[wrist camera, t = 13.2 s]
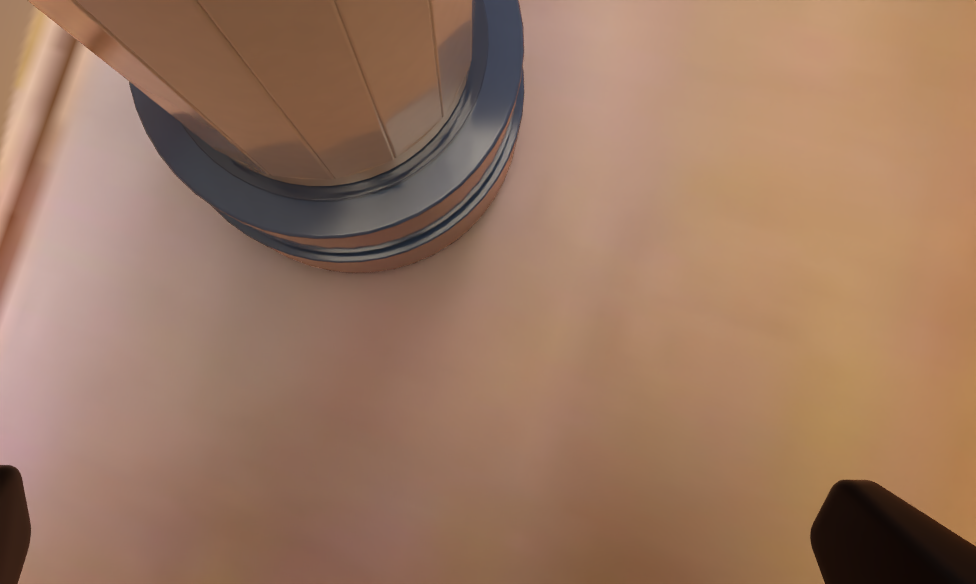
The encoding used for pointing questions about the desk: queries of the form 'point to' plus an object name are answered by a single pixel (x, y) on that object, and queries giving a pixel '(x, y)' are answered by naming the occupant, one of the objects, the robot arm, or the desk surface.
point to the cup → (290, 75)
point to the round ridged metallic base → (385, 197)
